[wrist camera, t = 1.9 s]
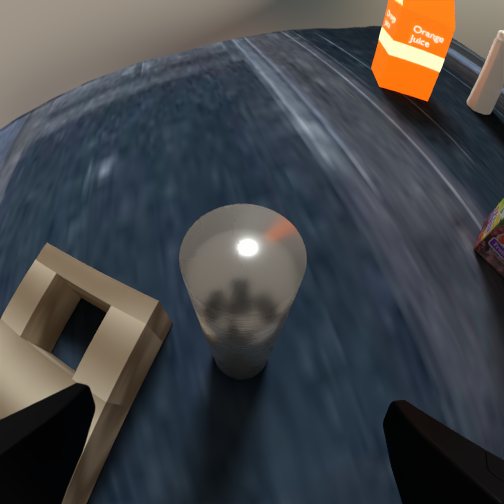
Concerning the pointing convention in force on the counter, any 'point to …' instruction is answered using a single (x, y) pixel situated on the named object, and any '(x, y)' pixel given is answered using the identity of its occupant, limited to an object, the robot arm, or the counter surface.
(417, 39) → the orange juice
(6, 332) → the birch hole board
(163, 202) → the counter surface
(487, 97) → the squeeze bottle
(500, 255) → the snack box
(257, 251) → the steel peg
